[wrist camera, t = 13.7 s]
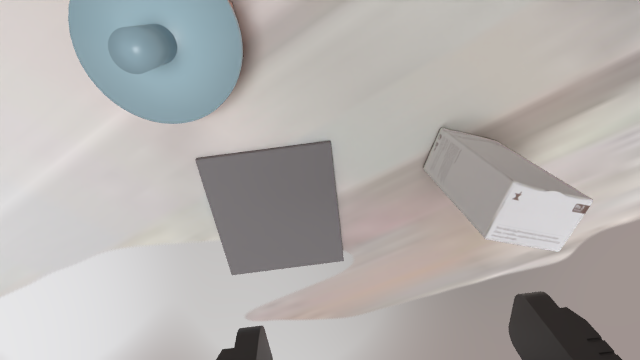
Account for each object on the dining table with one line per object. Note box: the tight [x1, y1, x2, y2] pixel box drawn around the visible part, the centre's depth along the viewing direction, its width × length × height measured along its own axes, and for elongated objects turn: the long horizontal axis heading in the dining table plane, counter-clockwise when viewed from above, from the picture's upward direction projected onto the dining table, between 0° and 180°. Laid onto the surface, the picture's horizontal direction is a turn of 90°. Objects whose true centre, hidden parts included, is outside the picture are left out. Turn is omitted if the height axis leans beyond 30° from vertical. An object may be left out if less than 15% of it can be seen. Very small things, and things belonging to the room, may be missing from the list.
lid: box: [68, 0, 243, 124], centre depth 27 cm, size 14×14×6 cm
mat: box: [196, 141, 344, 275], centre depth 44 cm, size 16×18×1 cm
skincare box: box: [423, 128, 593, 252], centre depth 35 cm, size 8×6×15 cm
